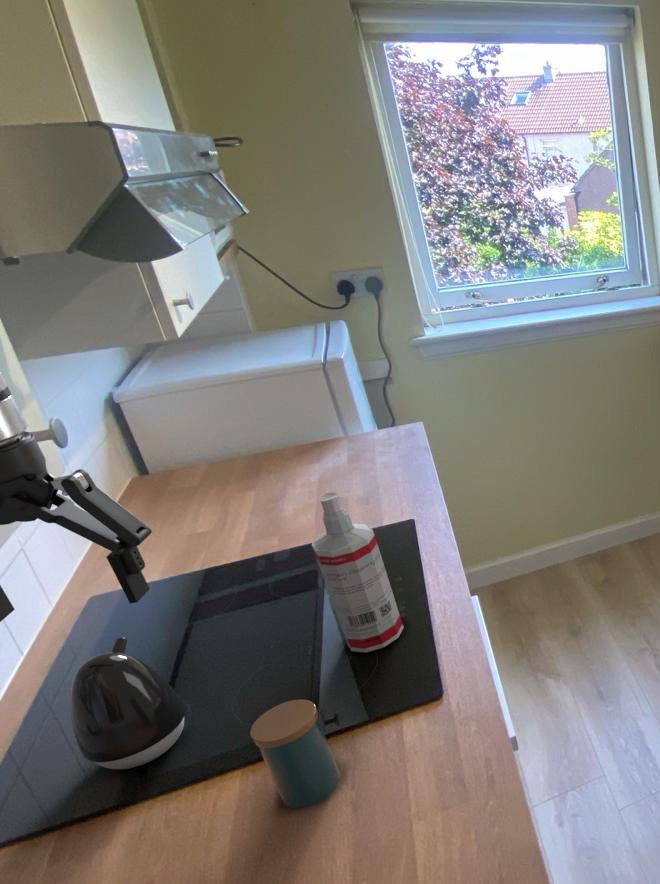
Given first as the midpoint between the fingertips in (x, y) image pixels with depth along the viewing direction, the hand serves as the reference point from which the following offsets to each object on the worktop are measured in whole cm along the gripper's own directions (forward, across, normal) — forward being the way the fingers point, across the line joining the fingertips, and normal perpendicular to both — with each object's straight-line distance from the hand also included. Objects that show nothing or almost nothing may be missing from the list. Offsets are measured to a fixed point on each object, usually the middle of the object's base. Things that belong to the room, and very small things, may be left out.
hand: (72, 606), depth 85 cm
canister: (+23, -23, +13) cm, 35 cm away
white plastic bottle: (+23, -23, -16) cm, 36 cm away
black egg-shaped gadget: (+23, 0, 0) cm, 23 cm away
